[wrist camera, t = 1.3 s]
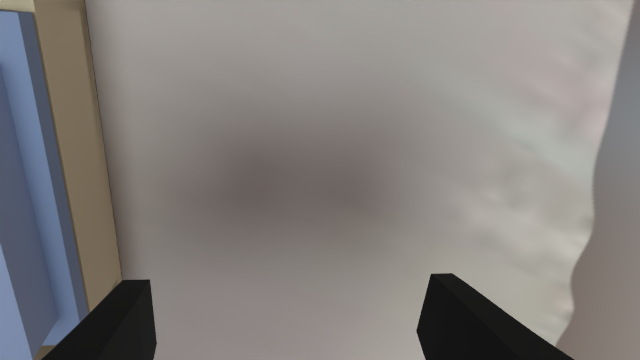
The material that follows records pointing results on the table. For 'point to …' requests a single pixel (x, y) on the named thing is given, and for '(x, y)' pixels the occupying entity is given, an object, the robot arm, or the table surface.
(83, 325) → the robot arm
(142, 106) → the table surface
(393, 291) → the table surface
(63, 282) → the lid
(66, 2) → the beige shallow box
